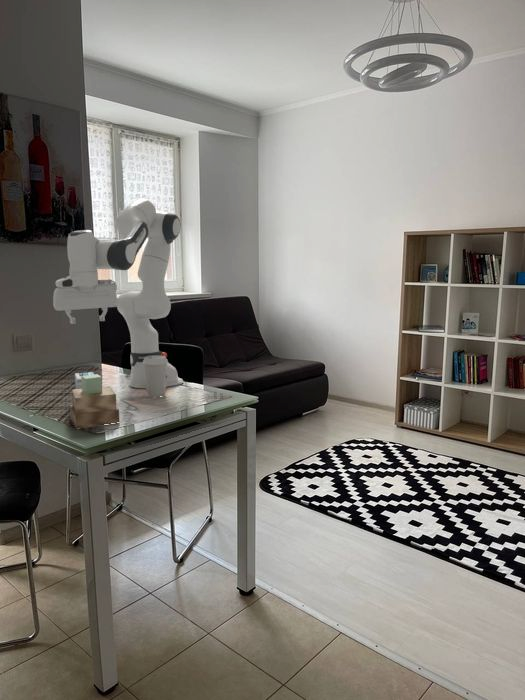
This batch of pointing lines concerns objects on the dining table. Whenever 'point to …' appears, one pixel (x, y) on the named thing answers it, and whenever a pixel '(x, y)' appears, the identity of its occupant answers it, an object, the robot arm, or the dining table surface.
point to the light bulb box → (78, 379)
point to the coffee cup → (155, 375)
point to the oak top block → (94, 400)
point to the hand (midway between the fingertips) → (87, 322)
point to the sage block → (91, 384)
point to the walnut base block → (94, 418)
